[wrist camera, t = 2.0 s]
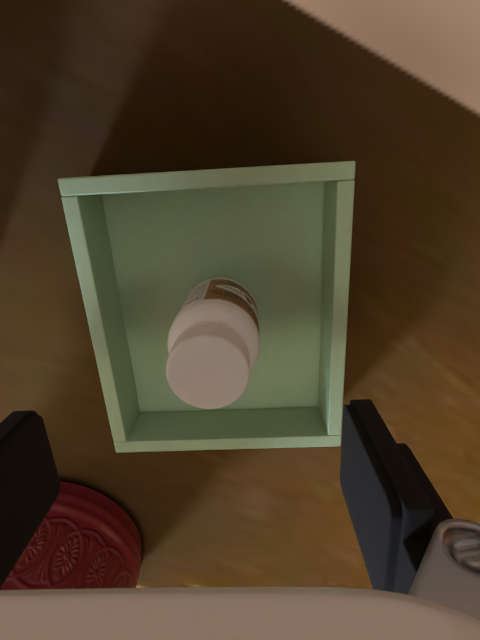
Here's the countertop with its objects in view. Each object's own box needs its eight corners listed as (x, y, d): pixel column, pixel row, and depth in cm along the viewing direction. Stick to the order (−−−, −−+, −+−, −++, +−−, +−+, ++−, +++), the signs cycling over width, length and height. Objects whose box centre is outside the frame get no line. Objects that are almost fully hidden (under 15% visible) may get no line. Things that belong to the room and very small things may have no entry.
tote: (87, 179, 20) (56, 178, 17) (338, 164, 19) (356, 160, 16) (132, 419, 25) (115, 453, 22) (329, 412, 25) (341, 446, 22)
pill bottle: (272, 311, 22) (284, 374, 15) (222, 357, 23) (210, 437, 16) (219, 259, 21) (204, 300, 14) (169, 310, 22) (130, 373, 15)
